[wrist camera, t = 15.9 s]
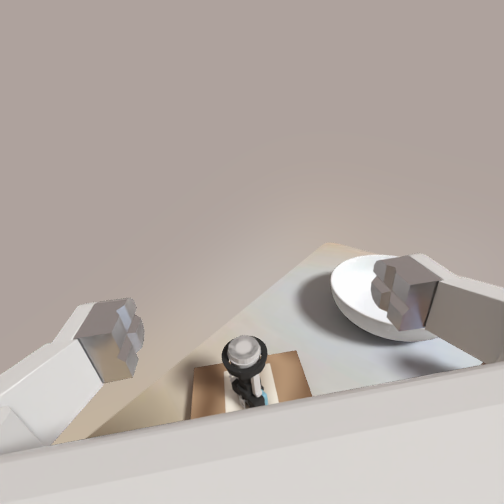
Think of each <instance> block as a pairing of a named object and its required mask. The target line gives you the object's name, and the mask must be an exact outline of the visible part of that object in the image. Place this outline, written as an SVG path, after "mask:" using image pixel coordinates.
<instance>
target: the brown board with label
mask: <svg viewBox="0 0 504 504" xmlns="http://www.w3.org/2000/svg"><path fill="white" fill-rule="evenodd" d="M260 359H261V357H260ZM229 363H230V364H231V362H229ZM229 375H230V374H229V373H228V371H227V369H226V368H225V366H224V364H223V363H221V364H215V365H209V366H204V367H198V368H194V379H193V393H192V407H191V419H195V418H200V417H205V416H211V415H216V414H221V413H227V412H232V411H238V410H243V409H245V408H244V407H243V406H242V405H241V404H240V401H239V395H238V394H237V393H235V392H234V391H233V389H232V384H231V382H230V379H231V378H230V377H229ZM259 376H260V379H261V385H262V386H263V387H264V390H263V391H264V392H265V393H266V394H267V398H268V405H270V404H275V403H280V402H286V401H291V400H297V399H302V398H307V397H312V394H311V391H310V388H309V386H308V383H307V380H306V377H305V374H304V371H303V368H302V366H301V363H300V360H299V357H298V354H297V351H290V352H284V353H279V354H273V355H267V360H266V362H265V367H264V369H263V370H262V372H261V373H259ZM233 377H234V376H232V378H233ZM242 404H243V403H242ZM245 406H246V409H248V408H250V407H249V406H248V405H247V404H246V403H245Z"/></svg>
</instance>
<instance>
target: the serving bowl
mask: <svg viewBox="0 0 504 504" xmlns="http://www.w3.org/2000/svg"><path fill="white" fill-rule="evenodd" d="M396 257H397V256H390V255H365V256H359V257H354V258H351V259H348V260H346V261H344V262H342V263H340V264H339V265H338V266H337V267H336V268H335V269H334V270H333V272H332V274H331V277H330V284H331V291H332V295H333V298H334V300H335V302H336V304H337V306H338V308H339V309H340V310H341V312H342V313H343V314H344V315H345V316H346V317H347V318H348V319H349V320H350V321H352V322H353V323H354V324H356V325H357V326H359V327H360V328H362V329H364V330H366V331H368V332H370V333H372V334H374V335H377V336H380V337H383V338H386V339H391V340H396V341H405V342H418V341H426V340H431V339H435V338H438V336H436V335H434V334H432V333H430V332H429V331H427V330H425V328H421V329H414V330H407V331H400V332H399V331H398V330H397V329H396V328H395V326H394V325H393V324H392V323H391V322H390V321H389V319H388V318H387V312H386V311H384V310H382V309H380V308H378V306H377V305H376V304H375V302H374V300H373V298H372V295H371V282H372V281H373V279H374V278H375V277H376V275H375V273H374V272H373V269H374V264H375V263H376V261H378V260H384V259H390V258H396Z"/></svg>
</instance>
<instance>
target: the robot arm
mask: <svg viewBox="0 0 504 504" xmlns="http://www.w3.org/2000/svg"><path fill="white" fill-rule="evenodd" d="M373 272H374V273H375V275H376V277H375V278H374V279H373V281H372V282H371V295H372V298H373V300H374V302H375V304H376V305H377V306H378V308H380V309H382V310H384V311H386V312H387V318H388V319H389V321H390V322H391V323H392V324H393V325H394V326H395V328H396V329H397V330H398V331H399V332H400V331H407V330H414V329H421V328H425V330H427V331H429V332H430V333H432V334H434V335H436V336H438V337H439V338H441V339H443V340H445V341H447V342H448V343H450V344H452V345H454V346H455V347H457V348H459V349H461V350H463V351H464V352H466V353H468V354H470V355H471V356H473V357H475V358H477V359H479V360H480V361H482V362H484V363H486V364H484V365H479V366H473V367H468V368H463V369H457V370H452V371H446V372H441V373H436V374H430V375H425V376H420V377H414V378H409V379H404V380H398V381H393V382H388V383H382V384H377V385H372V386H366V387H361V388H356V389H350V390H345V391H339V392H334V393H329V394H323V395H318V396H313V397H307V398H302V399H297V400H291V401H286V402H280V403H275V404H270V405H264V406H259V407H254V408H248V409H243V410H238V411H232V412H227V413H221V414H216V415H211V416H205V417H200V418H195V419H189V420H184V421H179V422H173V423H168V424H163V425H157V426H152V427H147V428H141V429H136V430H130V431H125V432H120V433H114V434H109V435H104V436H98V437H93V438H88V439H82V440H77V441H72V442H67V443H61V444H56V445H51V444H52V443H53V442H54V441H55V440H56V439H57V438H58V436H59V435H60V434H61V433H62V432H63V431H64V430H65V428H66V427H67V426H68V425H69V424H70V422H72V420H73V419H74V418H75V417H76V416H77V415H78V414H79V412H80V411H81V410H82V409H83V408H84V407H85V405H86V404H87V403H88V402H89V401H90V400H91V399H92V398H93V396H94V395H95V394H96V393H97V392H98V391H99V390H100V388H101V387H102V386H103V383H108V382H113V381H118V380H123V379H128V378H132V377H133V375H134V372H135V368H136V365H137V362H138V357H137V354H136V353H137V352H138V351H139V350H140V349H141V348H142V345H143V341H144V327H143V323H142V320H141V318H140V317H138V316H137V315H135V311H136V308H137V307H136V305H135V303H134V300H133V299H131V298H123V299H116V300H109V301H100V302H93V303H86V304H82V305H79V306H78V307H77V308H76V309H75V311H74V312H73V314H72V315H71V316H70V318H69V319H68V321H67V322H66V324H65V325H64V327H63V328H62V329H61V331H60V332H59V334H58V335H57V336H56V338H55V339H54V341H53V342H52V343H49V344H45V345H44V346H42V347H41V348H39V349H38V350H36V351H35V352H33V353H32V354H30V355H29V356H27V357H26V358H25V359H23V360H22V361H20V362H19V363H17V364H16V365H14V366H13V367H11V368H10V369H8V370H7V371H5V372H4V373H2V374H1V375H0V504H504V288H502V287H498V286H494V285H491V284H487V283H484V282H480V281H477V280H473V279H470V278H466V277H461V278H459V277H458V276H456V275H455V274H453V273H452V272H450V271H449V270H447V269H446V268H444V267H443V266H441V265H440V264H438V263H437V262H435V261H434V260H432V259H431V258H429V257H428V256H426V255H425V254H422V253H417V254H411V255H406V256H402V257H396V258H390V259H384V260H378V261H376V263H375V264H374V269H373Z"/></svg>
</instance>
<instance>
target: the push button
mask: <svg viewBox="0 0 504 504" xmlns="http://www.w3.org/2000/svg"><path fill="white" fill-rule="evenodd" d="M260 354H261V355H262V356H261V359H260ZM229 360H230V362H231V364H230V363H229ZM266 360H267V348H266V346H265V344H264V343H263V342H262V341H261V340H260V339H258V338H256V337H254V336H248V335H242V336H239V337H236V338H234V339H233V340H231V341H230V342H228V343H227V344H226V346H225V347H224V349H223V351H222V361H223V364H224V366H225V368H226V369H227V371H228V373H229V374H230V375H229V377H230V378H231V379H230V382H231V384H232V389H233V391H234V392H235V393H237V394H238V395H239V401H240V404H241V405H242V406H243V407H244V408H245V409H246V406H245V403H246V404H247V405H248V406H249V407H250V408H254V407H259V406H264V405H268V398H267V394H266V393H265V392H264V391H263V390H264V387H263V386H262V385H261V379H260V376H259V373H261V372H262V370H263V369H264V367H265V362H266ZM232 376H234V377H233V378H232ZM242 403H243V404H242Z"/></svg>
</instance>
